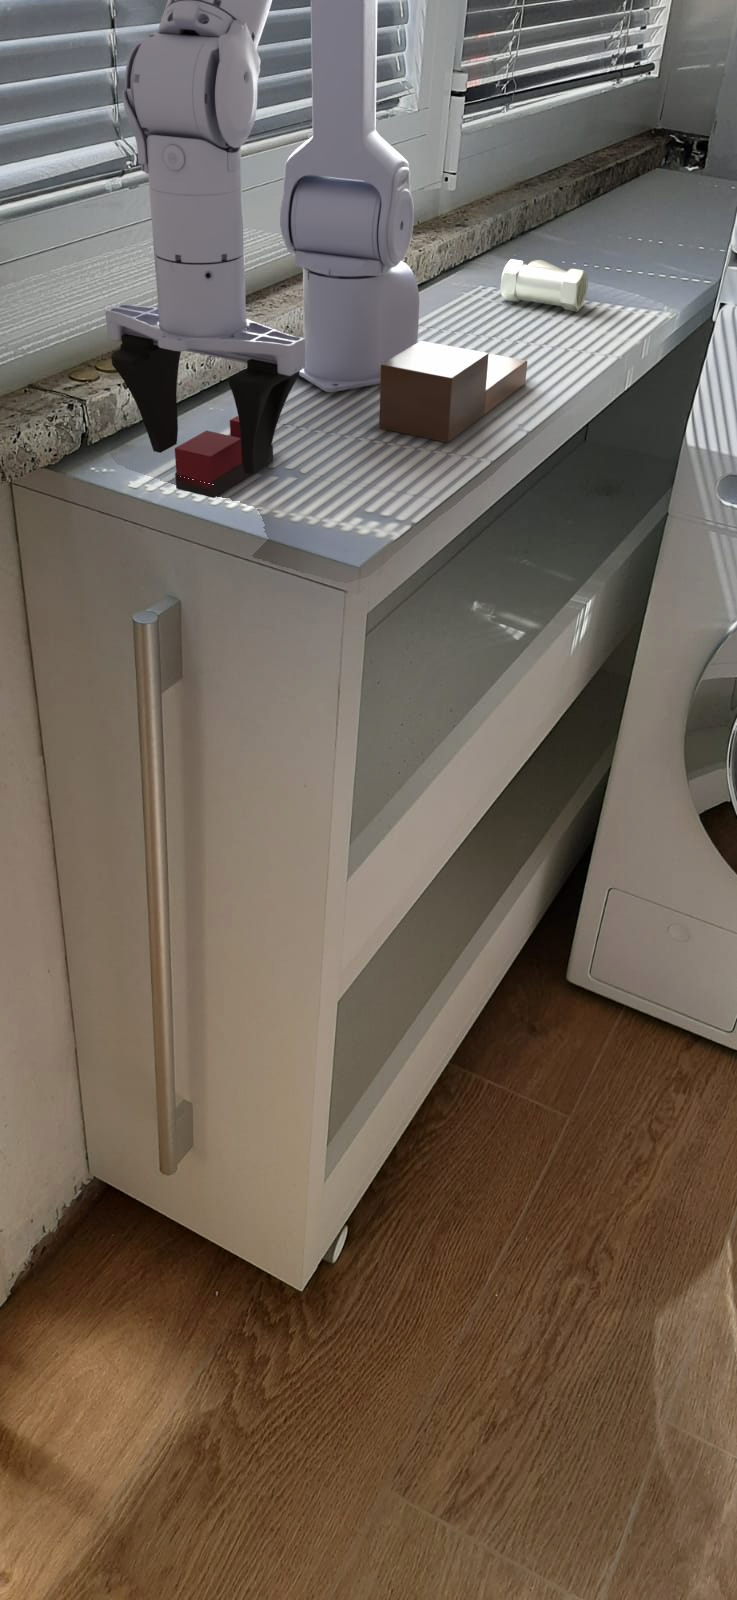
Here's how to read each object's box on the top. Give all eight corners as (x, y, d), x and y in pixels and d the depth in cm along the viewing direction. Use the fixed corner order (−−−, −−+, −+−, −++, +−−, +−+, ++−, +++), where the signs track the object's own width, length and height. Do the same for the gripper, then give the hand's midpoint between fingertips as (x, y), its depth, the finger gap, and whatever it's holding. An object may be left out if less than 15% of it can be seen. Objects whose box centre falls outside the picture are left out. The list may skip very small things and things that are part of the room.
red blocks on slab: (237, 452, 94) (235, 412, 93) (273, 460, 93) (272, 420, 92) (175, 488, 89) (172, 447, 87) (213, 498, 88) (211, 457, 86)
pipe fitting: (523, 292, 133) (498, 302, 128) (527, 252, 131) (503, 261, 126) (594, 304, 130) (573, 314, 125) (601, 263, 128) (579, 272, 123)
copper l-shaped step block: (462, 371, 111) (466, 313, 108) (525, 383, 108) (531, 324, 105) (378, 428, 99) (380, 364, 96) (447, 443, 97) (451, 378, 94)
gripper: (68, 250, 80) (91, 456, 88) (263, 284, 75) (268, 499, 83) (134, 228, 85) (150, 425, 93) (321, 259, 80) (321, 464, 88)
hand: (209, 458), depth 88 cm, fingers open, 7 cm apart
